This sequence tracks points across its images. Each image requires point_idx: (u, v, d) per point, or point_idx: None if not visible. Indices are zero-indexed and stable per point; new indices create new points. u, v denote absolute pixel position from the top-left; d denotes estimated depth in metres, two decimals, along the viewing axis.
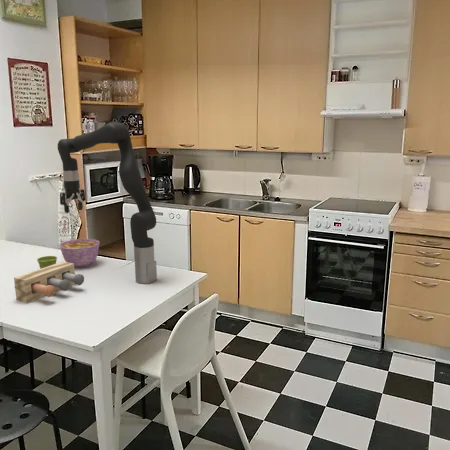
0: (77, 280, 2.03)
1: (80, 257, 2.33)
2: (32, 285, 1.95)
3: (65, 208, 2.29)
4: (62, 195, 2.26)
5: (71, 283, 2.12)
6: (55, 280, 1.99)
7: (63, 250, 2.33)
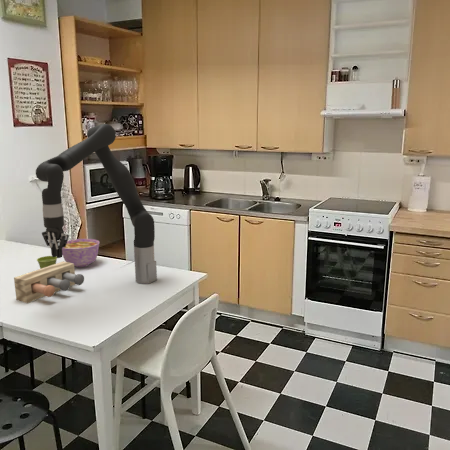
0: (77, 280, 2.03)
1: (80, 257, 2.33)
2: (32, 285, 1.95)
3: (60, 252, 1.83)
4: (67, 238, 1.80)
5: (71, 283, 2.12)
6: (55, 280, 1.99)
7: (63, 250, 2.33)
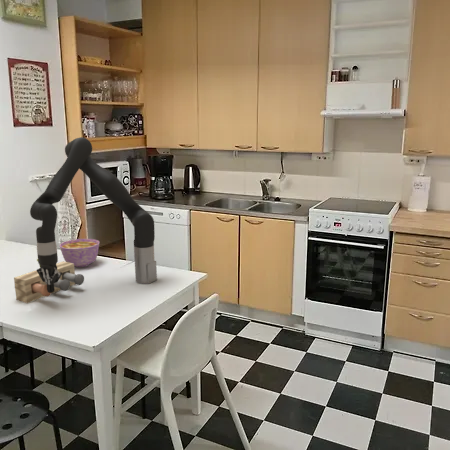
0: (77, 280, 2.03)
1: (80, 257, 2.33)
2: None
3: (52, 287, 1.90)
4: (59, 275, 1.87)
5: (71, 283, 2.12)
6: None
7: (63, 250, 2.33)
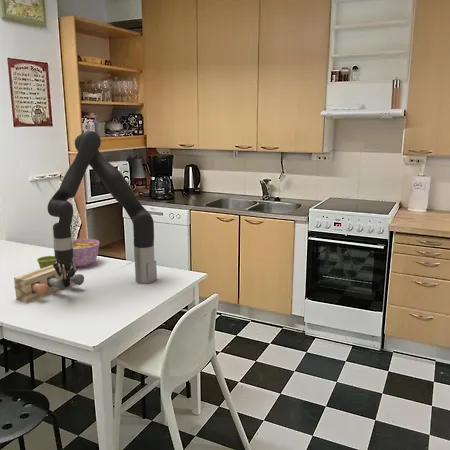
0: (77, 280, 2.03)
1: (80, 257, 2.33)
2: None
3: (68, 281, 1.96)
4: (75, 270, 1.93)
5: (71, 283, 2.12)
6: (53, 280, 2.00)
7: None
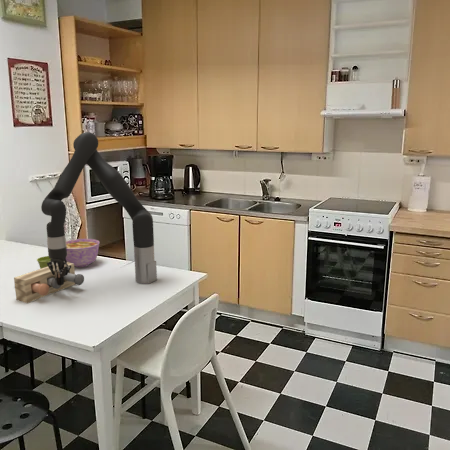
0: (77, 280, 2.03)
1: (80, 257, 2.33)
2: None
3: (62, 280, 1.98)
4: (69, 268, 1.95)
5: (71, 283, 2.12)
6: (47, 278, 2.02)
7: None
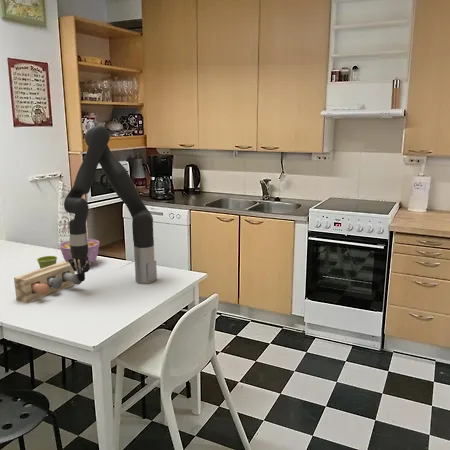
0: (75, 280, 2.04)
1: None
2: None
3: (83, 276, 2.03)
4: (90, 265, 2.00)
5: (71, 283, 2.12)
6: (47, 278, 2.02)
7: (63, 250, 2.33)
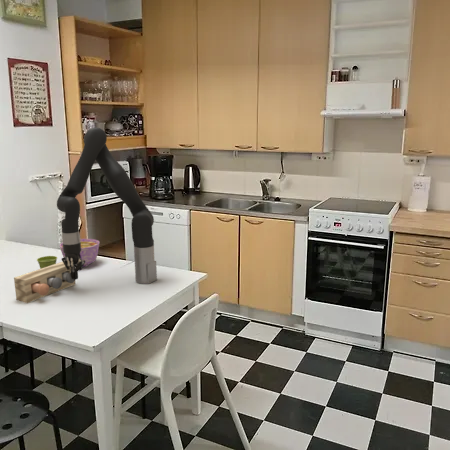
0: (68, 278, 2.06)
1: None
2: None
3: (76, 274, 2.05)
4: (83, 263, 2.02)
5: (71, 283, 2.12)
6: (47, 278, 2.02)
7: None
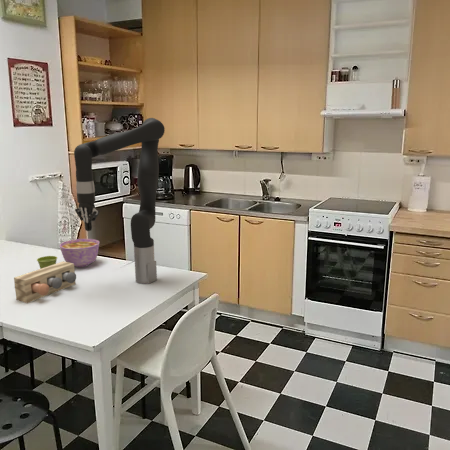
0: (69, 278, 2.06)
1: (80, 257, 2.33)
2: None
3: (90, 225, 2.02)
4: (97, 213, 1.99)
5: (71, 283, 2.12)
6: (47, 278, 2.02)
7: (63, 250, 2.33)
